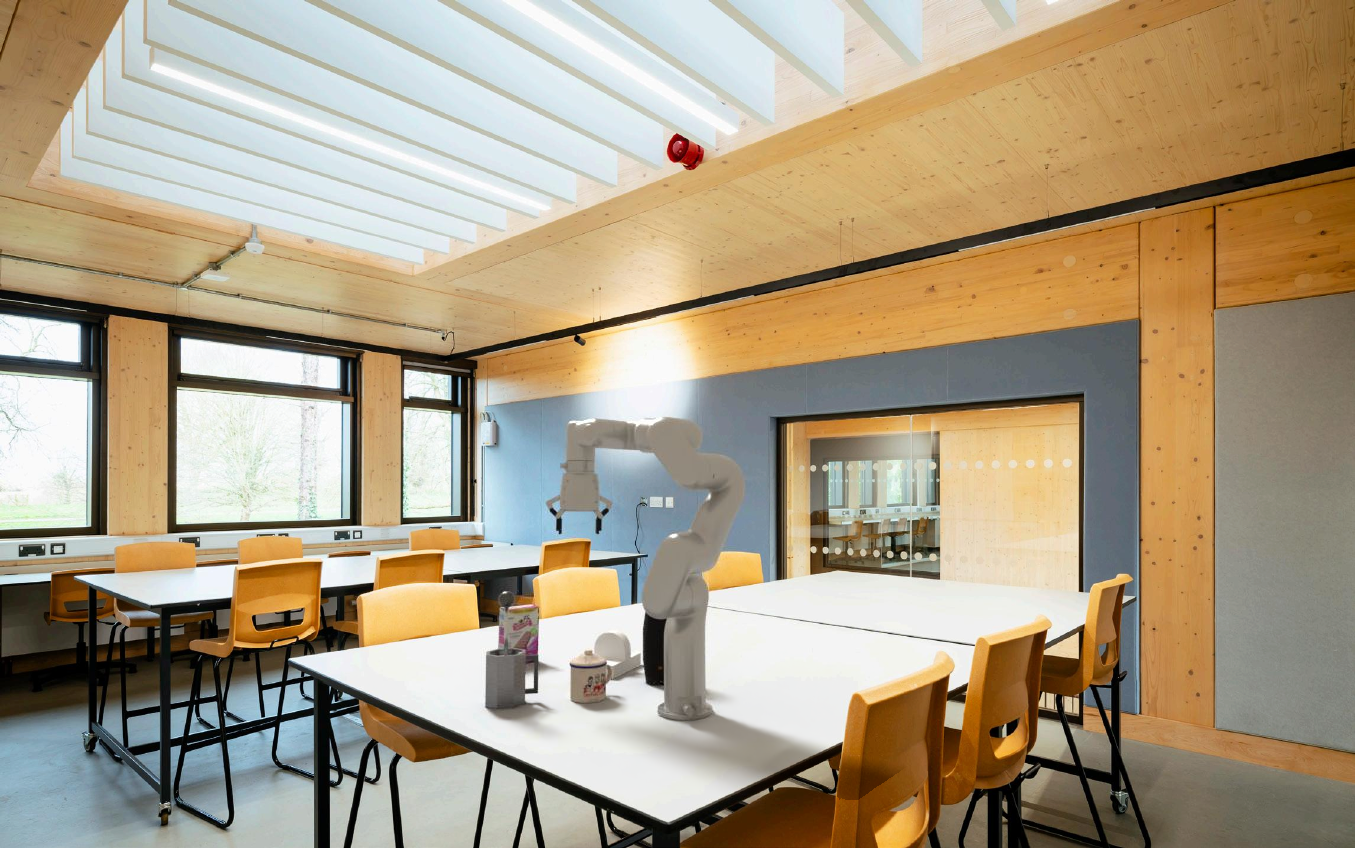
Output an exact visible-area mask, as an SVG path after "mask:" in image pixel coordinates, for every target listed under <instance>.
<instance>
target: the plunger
mask: <svg viewBox="0 0 1355 848" xmlns="http://www.w3.org/2000/svg"><path fill="white" fill-rule="evenodd" d="M497 600H498V601H497V602H498V604H499V606H500V608H502V607H503V608H504V655H499V656H508V619H509V607H512V606H514V604H515V602H516V597H515V595H514V593H513V591H512V592H511V591H509V590H506V591H502V592H501V593H500V594H499V595H498V598H497Z"/></svg>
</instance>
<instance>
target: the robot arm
mask: <svg viewBox="0 0 1355 848" xmlns="http://www.w3.org/2000/svg"><path fill="white" fill-rule="evenodd" d="M703 437H704V436H703V431H702V428H701V427H700V426H699V425H698V424H697V423H696V422H695V421H692V420H690V419H686V418H679V417H670V416H663V417H658V418H653V417H652V418H651V417H650V418H649V417H644V418H642V419H640V420H638V421H628V420H627V421H625V420H615V419H608V418H607V419H606V418H589V419H585V420H571V421H569V422H568V423H567V425H566V444H565V445H566V447H565V449H566V450H565V451H566V452H565V462H561V463H560V466H559V467H560V469H563V470H565V472H563V473H562V476H561V484H560V492H559V495H557V496H554V497H552V498H550V499H548V500H547V501H545V505H546V506H547V509H548V510H549V512H550V513H551V514H552V515H553V517H554V518H555V521H556V522H555V531H556V532H558V535H562V534H563V533H562V532H563V531H562V530H563V519H562V516H563V515H564V513H565V512H584V513H585V512H592V513H594V514H595V516H596V518H595V534H596V535H599V534H600V532H602V528H603V527H602V526H603V525H602V521H603V519H604V517H605V516H606V515H607V514H608V513H609V511H610V509H611V508H612V506H613V501H612V500H609V499H608V498H607V497H604V496H603V495H600V482H599V475H598V473H595V470H596V469H595V467H596V466H595V465H596V449H607V450H608V449H610V450H625V451H626V450H627V451H639V452H641V453H645V454H653V455H654V456H655V457H656V459H657V460H658V461H659V463H660V464H661V465H662V466H663V468H664V469H665V470H666V471H667V472H668V474H669V475H670V477H671V478H672V479H673V481H674V482H675V483H676V484H677V485H678V486H679V487H681V488H683V489H684V490H687V491H691V492H692V491H693V492H697V491H701V492H702V491H707V492H708V494H707V496H706V497H705V498H704V500H703V501H702V503H701V504H700V505H699V506H698V509H697V511H696V513H695V516H694V519H693V520H692V523H691V525H690V527H689V529H688V530H686V531H680V532H674V533H672V534H670V535H668V536H667V537H665V538H664V539H663V540H662V541H661V543H660V545H659V546H658V548H657V550H656V553H655V555H654V558H653V560H652V563H651V566H650V568H649V570H648V573H647V576H646V579H645V580H644V583H643V587H642V591H641V603H642V604H641V605H642V608H643V609H644V612H645V611H646V613H647V614H648V615H649V616H651V617H653V618H655V619H667V621H666V625H665V630H664V682H663V694H664V696H663V700H664V701H663V702H662V703H661V704H659V705H658V706H657V714H658V715H659V716H661V717H663V718H666V719H670V720H677V721H690V720H691V721H692V720H701V719H704V718H708V717H710V715H712V714H713V711H714V710H713V706H712V705H711V704H710V703H709V702H707V701H706V700H707V699H706V697H707V696H706V695H707V694H706V693H707V692H706V690H707V688H706V686H707V685H706V684H707V683H706V622H707V621H706V619H707V612H708V606H709V601H710V600H709V598H710V596H709V595H710V592H709V587H708V584H707V582H706V580H705V579H704V578H703V577H702V576H701V575H700V574H701V573H706V572H709V571H711V570H712V569H714V568H715V566H716V565H717V562H718V560H719V557H720V556H721V553H722V551H723V548H724V546H725V544H726V542H727V538H728V536H729V533H730V531H731V528H732V525H733V523H734V520H735V518H736V517H737V514H738V512H739V510H740V507H741V505H742V502H743V500H744V495H745V491H746V483H745V481H746V480H745V477H744V474H743V471H742V469H741V467H740V466H739V464H738V463H737V462H736V461H735V460H734V459H732V458H731V457H729V456H727V455H724V454H720V453H713V452H712V453H711V452H697V450H699V449H700V447H701V445H702V444H703V443H702V442H703ZM558 501H559V508H560V509H559V510H558V511H557V510H556V509H555V508H554V506H553V504H554V503H556V502H558ZM601 502H602V503H603V504H605V507H604V509H603V510H601V511H600V510H599V509H600V503H601Z"/></svg>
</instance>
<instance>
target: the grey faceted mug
mask: <svg viewBox="0 0 1355 848" xmlns="http://www.w3.org/2000/svg"><path fill="white" fill-rule="evenodd" d="M499 655H504V648H503V649H498V648H496V649H491V650H488V651H487V650H486V652H485V691H484V692H485V694H484V697H485V701H484V702H485V704H484V705H485V708H487V707H488V709H492V708H493V710H507V709H508V708H510V709H515V708H518V706H519V707H521V705H522V706H525V705H526V695H530V694H531V695H532V694H539V653H538V654H534V655H526V652H525V649H518V648H508V656H499ZM526 660H534V662H533V687H532V688H529V687H528V688H526Z"/></svg>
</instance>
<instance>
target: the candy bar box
mask: <svg viewBox="0 0 1355 848" xmlns="http://www.w3.org/2000/svg"><path fill="white" fill-rule="evenodd" d="M498 613H499V615H498V616H499V617H498V643H497V644H498V645H497V647H498V648H497V649H503V648H504V608H503V607H499V611H498ZM539 622H540V606H538V605H536V604H523V605H512V606H511V607H509V619H508V648H518V649H525V652H526V655H534V654H538V655H539V630H540V629H539V628H540V626H539V625H540V623H539ZM530 661H534V660H526V662H528V663H531V662H530Z"/></svg>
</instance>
